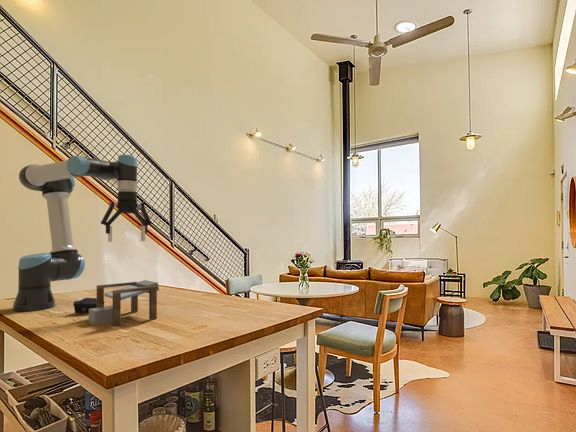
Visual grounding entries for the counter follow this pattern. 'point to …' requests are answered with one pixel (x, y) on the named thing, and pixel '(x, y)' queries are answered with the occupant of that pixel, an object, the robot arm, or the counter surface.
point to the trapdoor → (138, 285)
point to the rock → (84, 305)
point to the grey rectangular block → (101, 315)
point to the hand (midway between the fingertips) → (127, 241)
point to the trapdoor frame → (134, 300)
